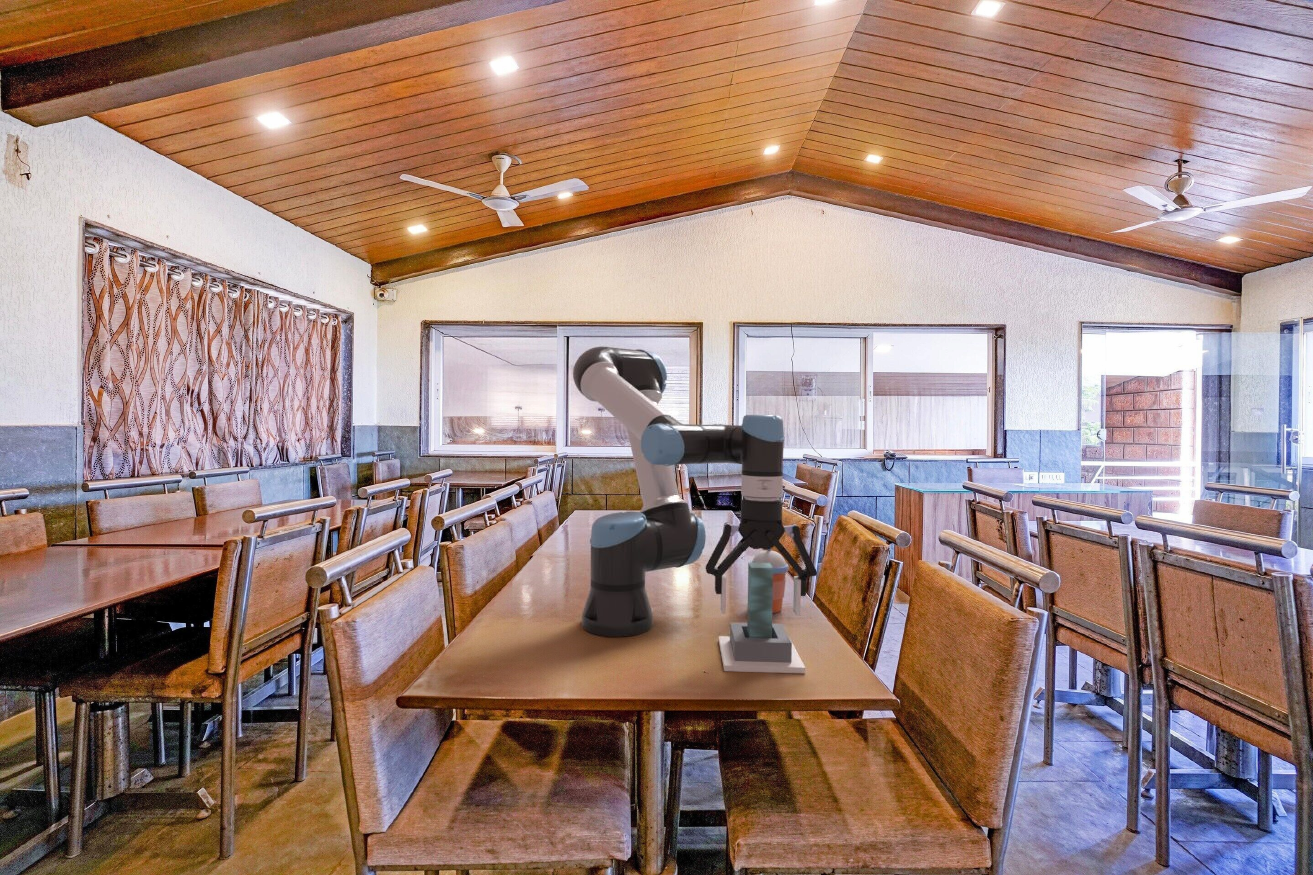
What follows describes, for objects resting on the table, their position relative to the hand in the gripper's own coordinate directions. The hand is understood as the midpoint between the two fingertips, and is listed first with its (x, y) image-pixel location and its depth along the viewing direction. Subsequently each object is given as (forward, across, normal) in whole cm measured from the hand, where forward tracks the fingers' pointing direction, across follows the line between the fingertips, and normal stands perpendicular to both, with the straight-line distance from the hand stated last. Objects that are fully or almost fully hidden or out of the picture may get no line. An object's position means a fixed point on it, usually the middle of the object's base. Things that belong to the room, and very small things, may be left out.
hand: (759, 612), depth 108 cm
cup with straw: (+8, +6, +28) cm, 30 cm away
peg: (+7, 0, 0) cm, 7 cm away
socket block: (+8, 0, 0) cm, 8 cm away
